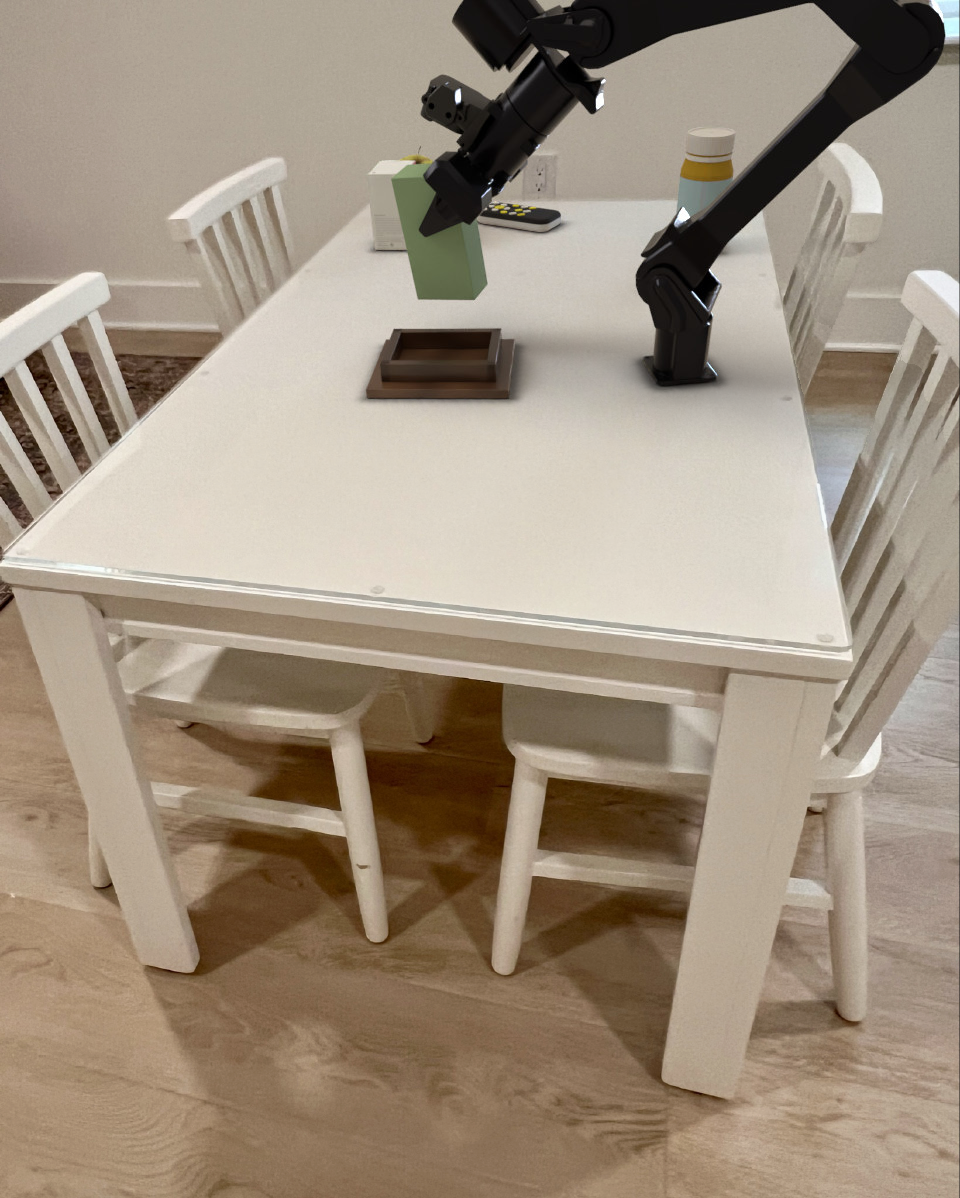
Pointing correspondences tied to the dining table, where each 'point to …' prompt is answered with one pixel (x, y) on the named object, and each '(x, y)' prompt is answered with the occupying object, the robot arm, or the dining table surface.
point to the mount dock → (443, 364)
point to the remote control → (520, 217)
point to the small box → (385, 205)
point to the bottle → (705, 167)
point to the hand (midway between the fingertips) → (429, 226)
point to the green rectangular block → (437, 244)
